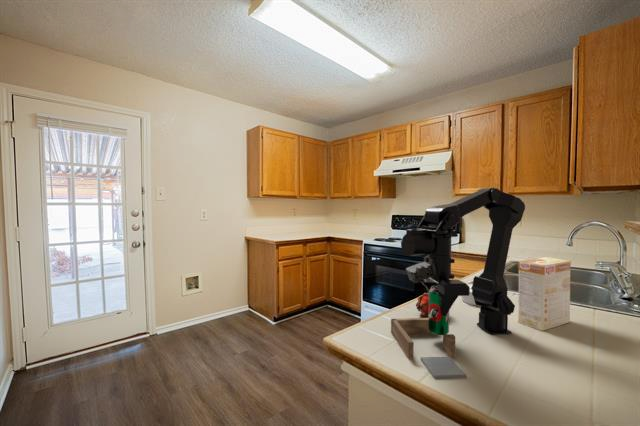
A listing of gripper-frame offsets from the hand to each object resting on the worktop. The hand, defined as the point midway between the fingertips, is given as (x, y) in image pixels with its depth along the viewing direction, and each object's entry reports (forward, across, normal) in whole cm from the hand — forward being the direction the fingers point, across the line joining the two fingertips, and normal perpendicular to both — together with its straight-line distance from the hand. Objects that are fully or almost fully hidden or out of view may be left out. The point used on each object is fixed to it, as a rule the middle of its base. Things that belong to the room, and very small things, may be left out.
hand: (438, 311), depth 73 cm
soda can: (+6, 0, 0) cm, 6 cm away
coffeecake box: (+8, -10, +39) cm, 41 cm away
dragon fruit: (+8, -17, +6) cm, 20 cm away
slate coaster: (+8, +12, -5) cm, 15 cm away
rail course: (+8, +1, -5) cm, 9 cm away
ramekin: (+8, -29, +29) cm, 42 cm away
